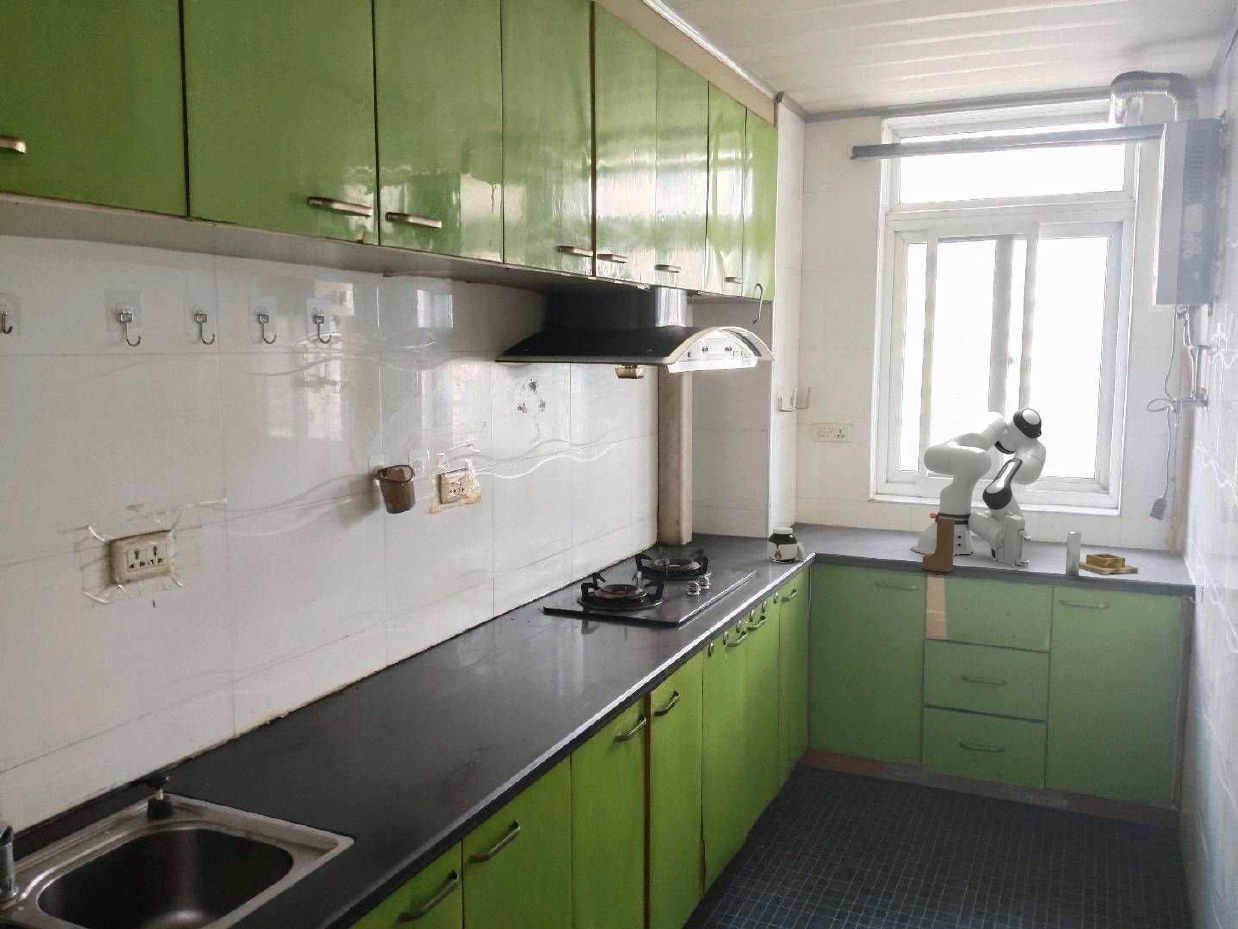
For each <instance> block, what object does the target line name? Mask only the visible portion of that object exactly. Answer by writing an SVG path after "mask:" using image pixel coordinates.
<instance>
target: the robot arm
mask: <svg viewBox="0 0 1238 929" xmlns="http://www.w3.org/2000/svg"><path fill="white" fill-rule="evenodd" d="M1042 423H1043V422H1042V418H1041V415H1040V414H1039V413H1038V412H1037V411H1036V410H1035V409H1033V408H1029V407H1023V408H1020V409H1019V410H1017V411H1015V412H1014V413H1013V415H1012V416H1011V417H1009V418H1008V419H1006V418H1005V417H1004V416H1003V415H1002V414H1001V413H999V412H997V411H991V412H987V413H984V414H983V415H982V416H980V417H979V418H977V419H976V420H975V421H974V422H973V423H972V424H971V425H970V426H969V427H968V428H967V429H965V431H963V432H962V433H961V434H959V435H958V436H957V435H956V436H955V437H953V438H951V439H949V440H947V441H944V442H941V443H939V444H936V445H931V446H929V447H928V448H927V449H926V451H925V453H924V456H923V462H924V465H925V466H924V467H925V468H926V469H927V470H928V471H930V472H933V473H936V474H938V475H946V476H947V475H948V476H949V475H950V476H953V478H952V481H951V483H950V484H949V485H947V486H945V487H944V488H942V489H941V491H940V493H939V511H938V512H937V513H934V512H930V514H928V515H929V518H930V519H934V522H933V523H932V524H930V525H929V526H928V527H926V528H925V529H924V530H922V531H921V532H920V534H919V535H918V539H917V544H916V545H911V546H910V550H912V551H913V552H916V553H919V552H920V554H923V553H924V554H923V555H928V554H933V553H935V550H936V542H937V519H938V518H940V517H951V518H954V519H955V522H954V548H953V556H956V554H957V556H960V555H959V554H970V555H971V552H972V553H974V552H975V549H974V546H973V539H972V533H973V534H974V535H975V536H976V537H978V538H980V539H981V540H984V541H986V542H987V543H988V544H989V547H990V548H989V549H990V551H991V558H992V560H993V559H994V560H998V561H997V562H999V561H1001V562H1000V563H1004V562H1006V563H1005V564H1007V565H1011V564H1016V565H1015V566H1020V565H1022V566H1024V567H1027V566H1028V567H1029V560H1027V559H1023V558H1022V557H1023V547H1024V542H1026V543H1029V542H1032V536H1030V535H1029V533H1028V532H1027V530H1026V520H1025V518H1024V514H1023V512H1022V510H1021V508H1020V506H1019V503H1018V502H1017V499H1016V497H1015V495H1014V493H1013V490H1012V484H1013V483H1015V484H1018V485H1025V486H1028V485H1031V484H1034V483H1035V482H1036V481H1038V479H1039V478H1040V476H1041V474H1042V471H1043V469H1044V466H1045V463H1046V458H1047V449H1046V446H1045V445H1044V444H1043V443H1042V442H1040V440H1038V439H1039V438H1040V437H1041V436H1042V434H1043V432H1042V425H1043V424H1042ZM993 447H995V449H996V450H998V451H999V452H1000V453H1002V454H1004V455H1007V456H1008V455H1013V457H1012V458H1011V459H1008V460H1007V461H1006V462H1005V463H1004V464H1003V465H1002V467H1001V468H1000V470H999V471H998V472H997V474H996V476H995V477H994V479H993V480H992V481H991V483H989V484H988V485H987V486H986V487H985V488H984V490H983V492H982V496H981V497H982V500H983V502H984V504H985V505H986V507H987V508H988V510H982V511H981V510H975V511H973V512H972V500H973V499H972V498H973V493H974V490H975V487H976V485H977V484H978V482H979V481H980V480H981V479H982V478H983V477H984V476H986V475H987V474H988V473H989V472H990V470H991V467H992V456H991V455H990V453H989V450H991V448H993ZM994 560H993V561H994Z"/></svg>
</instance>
